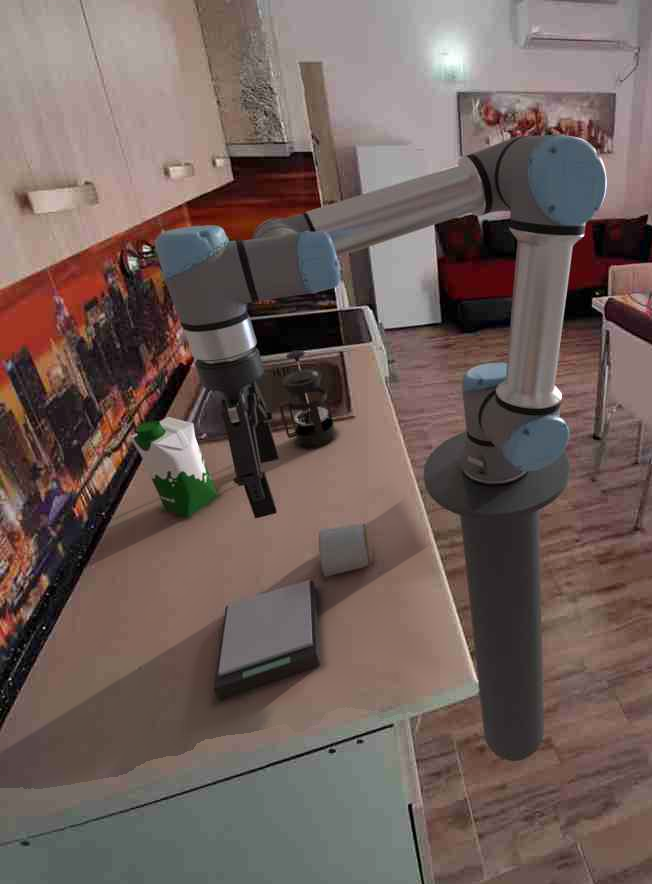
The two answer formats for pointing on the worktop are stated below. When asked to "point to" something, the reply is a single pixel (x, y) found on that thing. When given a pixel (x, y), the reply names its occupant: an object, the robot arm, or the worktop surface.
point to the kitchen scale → (268, 639)
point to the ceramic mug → (344, 548)
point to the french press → (307, 407)
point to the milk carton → (175, 464)
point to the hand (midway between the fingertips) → (268, 485)
